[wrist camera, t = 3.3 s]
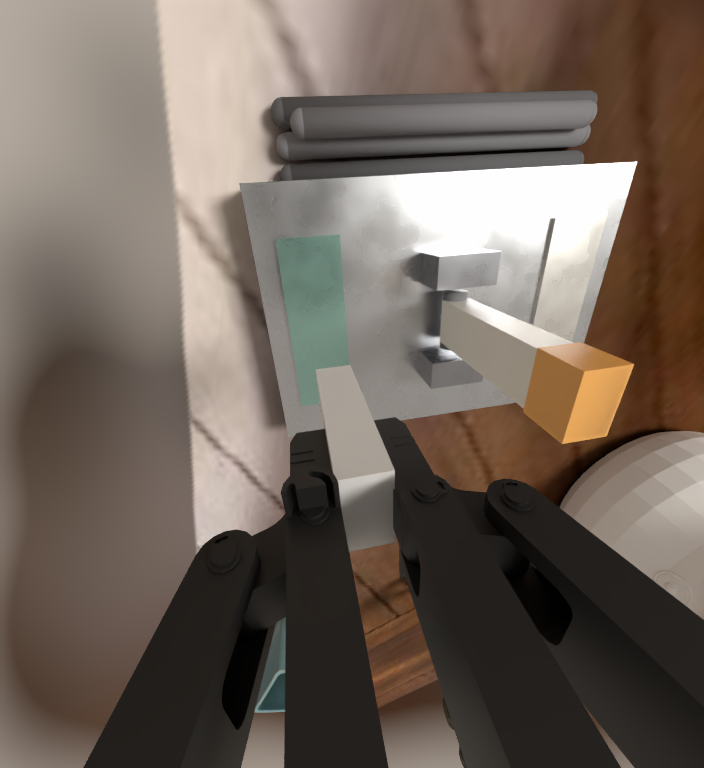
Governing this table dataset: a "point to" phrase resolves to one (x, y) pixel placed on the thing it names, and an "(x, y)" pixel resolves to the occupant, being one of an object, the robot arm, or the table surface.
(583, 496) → the pot
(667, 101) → the table surface
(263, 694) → the flower pot
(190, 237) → the table surface
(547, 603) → the robot arm
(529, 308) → the panel
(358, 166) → the cords
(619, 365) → the lever
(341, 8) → the table surface
